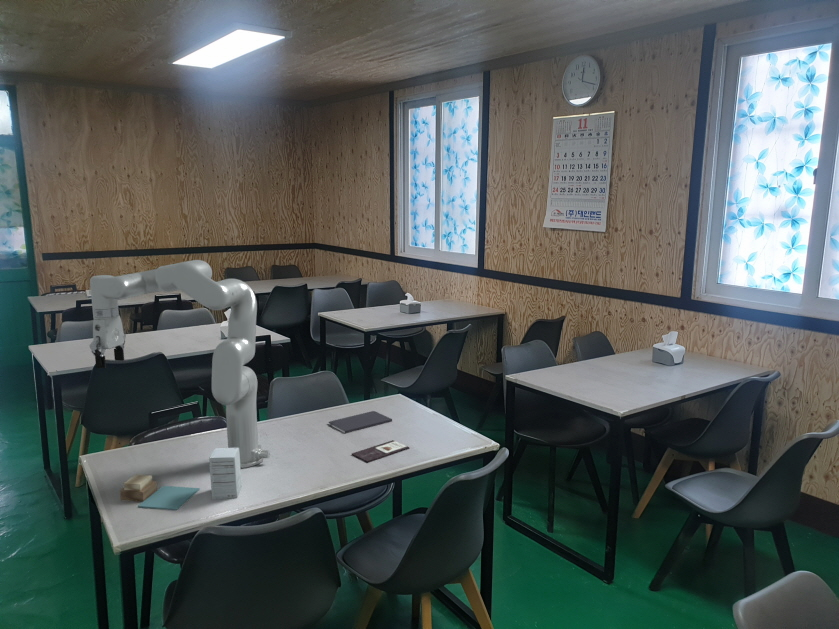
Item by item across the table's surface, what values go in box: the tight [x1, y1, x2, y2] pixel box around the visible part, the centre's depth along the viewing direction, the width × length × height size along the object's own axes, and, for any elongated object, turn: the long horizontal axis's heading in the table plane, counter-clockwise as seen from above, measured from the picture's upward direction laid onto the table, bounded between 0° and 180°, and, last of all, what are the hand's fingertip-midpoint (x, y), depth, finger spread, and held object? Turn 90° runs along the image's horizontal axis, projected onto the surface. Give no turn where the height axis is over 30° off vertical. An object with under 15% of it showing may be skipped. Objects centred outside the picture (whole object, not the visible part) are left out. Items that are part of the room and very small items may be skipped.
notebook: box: [328, 410, 393, 434], centre depth 244 cm, size 13×2×21 cm
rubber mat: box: [137, 485, 201, 511], centre depth 183 cm, size 12×13×1 cm
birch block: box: [123, 474, 153, 491], centre depth 184 cm, size 5×6×2 cm
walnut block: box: [119, 480, 158, 503], centre depth 184 cm, size 7×7×3 cm
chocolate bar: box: [351, 440, 410, 464], centre depth 216 cm, size 9×1×18 cm
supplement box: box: [208, 447, 243, 500], centre depth 185 cm, size 7×7×13 cm
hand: (110, 364), depth 210 cm, fingers open, 9 cm apart
